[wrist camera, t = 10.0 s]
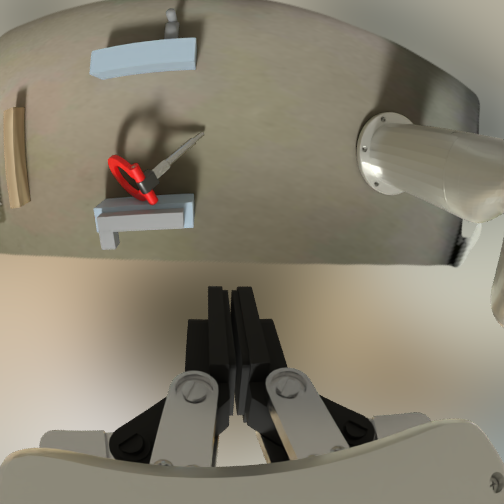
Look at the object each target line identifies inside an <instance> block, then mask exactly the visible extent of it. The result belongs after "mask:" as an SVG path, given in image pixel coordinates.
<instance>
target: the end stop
mask: <svg viewBox="0 0 504 504" xmlns="http://www.w3.org/2000/svg"><path fill="white" fill-rule="evenodd" d="M4 156H5V169H6V178H7V187H8V194H9V200H10V206H11V209H12V208H18V207H21V206H23V205H25V204H26V203H28V202H30V201H31V200H30V194H29V186H28V178H27V168H26V155H25V107H13V108H10V109H8V110H5V111H4Z"/></svg>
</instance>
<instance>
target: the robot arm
mask: <svg viewBox="0 0 504 504" xmlns="http://www.w3.org/2000/svg"><path fill="white" fill-rule="evenodd" d="M362 147H363V149H362ZM357 162H358V167H359V169H360V172H361V174H362V176H363V178H364V180H365V181H366V182H367V183H368V184H369V186H371V187H372V188H373V189H374V190H376V191H378V192H380V193H383V194H386V195H395V194H400V193H402V192H407V193H409V194H411V195H414V196H416V197H418V198H420V199H422V200H425V201H427V202H429V203H431V204H433V205H435V206H437V207H439V208H442V209H444V210H446V211H448V212H450V213H452V214H454V215H456V216H458V217H460V218H462V219H464V220H466V221H468V222H472V223H484V222H488V221H490V220H492V219H494V218H496V217H498V216H500V215H502V214H504V139H500V138H494V137H489V136H484V135H479V134H474V133H468V132H463V131H457V130H451V129H445V128H438V127H431V126H423V125H414V124H413V123H412V122H411V121H410V120H409V119H408V118H406V117H405V116H403V115H401V114H398V113H393V112H384V113H380V114H377V115H375V116H373V117H372V118H371V119H370V120H369V121H368V122H367V123H366V124H365V125H364V127H363V129H362V131H361V133H360V135H359V139H358V143H357ZM491 308H492V312H493V315H494V317H495V318H496V320H497V321H498V323H499V324H500V325H501V326H502V327H503V328H504V239H503V244H502V248H501V253H500V257H499V261H498V266H497V269H496V274H495V277H494V282H493V286H492V291H491ZM185 362H186V363H185V372H183V373H181V374H179V375H177V376H176V377H175V378H174V379H173V380H172V382H171V384H170V387H169V391H168V394H167V397H165V398H164V399H162V400H161V401H160V402H158V403H157V404H155V405H154V406H152V407H151V408H149V409H148V410H146V411H145V412H143V413H142V414H140V415H138V416H137V417H135V418H134V419H132V420H131V421H129V422H128V423H126V424H124V425H123V426H121V427H120V428H118V429H117V430H116V431H115V432H113V433H105V431H103V430H101V431H65V430H52V431H48V432H47V433H45V434H44V435H43V437H42V438H41V441H40V448H28V449H22V450H18V451H15V452H13V453H11V454H9V455H8V456H7V457H6V458H5V460H4V461H3V463H2V465H1V466H0V504H504V463H503V462H502V460H501V458H500V456H499V454H498V453H497V451H496V449H495V448H494V446H493V445H492V443H491V442H490V440H489V439H488V437H487V436H486V435H485V433H484V432H483V431H482V430H481V429H480V428H479V426H477V425H476V424H475V423H473V422H471V421H469V420H464V419H442V420H437V421H432V422H431V421H430V418H429V417H427V416H426V415H425V414H422V413H420V412H413V413H404V414H394V415H383V416H373V417H372V419H368V418H366V417H365V416H363V415H361V414H358V413H356V412H354V411H352V410H350V409H347V408H346V407H343V406H341V405H339V404H337V403H335V402H333V401H331V400H329V399H327V398H324V397H323V396H321V395H319V394H318V392H317V391H316V389H315V387H314V385H313V384H312V382H311V381H310V379H309V378H308V376H307V375H306V374H304V373H303V372H301V371H300V370H297V369H294V368H288V367H287V364H286V361H285V358H284V355H283V351H282V348H281V345H280V341H279V338H278V335H277V332H276V329H275V325H274V322H273V320H272V319H259V315H258V311H257V307H256V303H255V299H254V295H253V291H252V287H237V290H232V294H231V312H230V306H229V298H228V290H222V287H221V286H209V287H208V320H200V319H198V320H197V319H189V320H188V330H187V344H186V361H185ZM234 394H235V402H236V410H237V415H243V422H244V423H245V422H247V425H248V426H250V427H251V428H253V429H254V430H256V436H257V439H258V441H259V444H260V447H261V449H262V452H263V454H264V457H265V460H266V462H267V464H259V465H248V466H232V467H231V466H230V467H216V462H217V453H218V443H219V434H220V433H222V432H223V431H224V430H225V429H226V428H227V427H228V426H229V415H233V406H234V405H233V404H234Z"/></svg>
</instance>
